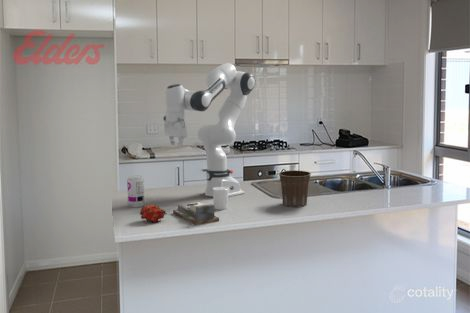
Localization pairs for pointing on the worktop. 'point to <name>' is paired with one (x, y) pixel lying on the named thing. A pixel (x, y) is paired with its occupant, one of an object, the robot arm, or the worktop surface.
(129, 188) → the supplement can
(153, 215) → the dragon fruit
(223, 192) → the white cup
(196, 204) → the cream block with rod
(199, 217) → the base
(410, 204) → the worktop surface
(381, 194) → the worktop surface
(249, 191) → the worktop surface
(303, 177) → the plant pot
